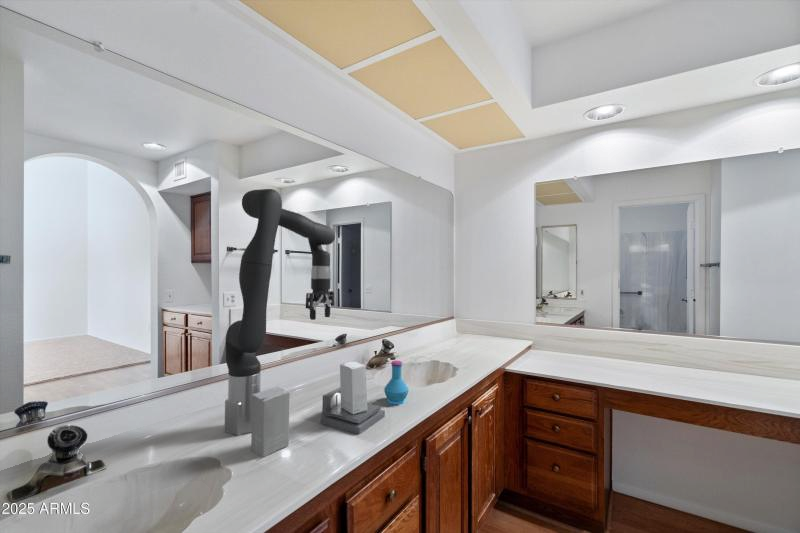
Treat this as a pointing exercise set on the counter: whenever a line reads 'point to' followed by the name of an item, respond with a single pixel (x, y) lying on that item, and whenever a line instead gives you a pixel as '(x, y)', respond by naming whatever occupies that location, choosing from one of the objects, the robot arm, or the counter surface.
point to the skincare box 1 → (270, 421)
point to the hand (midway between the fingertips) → (320, 318)
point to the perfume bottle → (396, 385)
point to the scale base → (334, 400)
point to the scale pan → (355, 418)
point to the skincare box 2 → (353, 387)
